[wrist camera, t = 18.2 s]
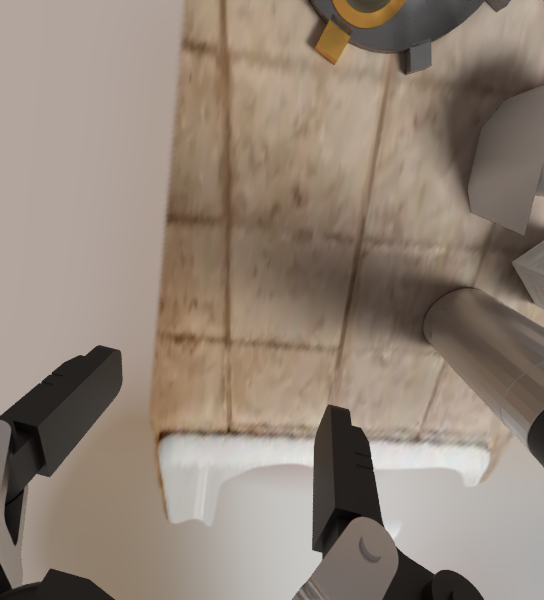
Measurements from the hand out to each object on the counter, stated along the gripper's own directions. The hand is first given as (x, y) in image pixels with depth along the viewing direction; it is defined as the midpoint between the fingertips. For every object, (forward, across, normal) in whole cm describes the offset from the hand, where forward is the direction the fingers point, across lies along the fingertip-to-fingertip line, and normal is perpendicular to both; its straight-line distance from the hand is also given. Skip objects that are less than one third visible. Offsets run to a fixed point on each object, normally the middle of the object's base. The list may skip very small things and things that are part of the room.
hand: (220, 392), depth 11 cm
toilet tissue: (+30, -21, -12) cm, 39 cm away
